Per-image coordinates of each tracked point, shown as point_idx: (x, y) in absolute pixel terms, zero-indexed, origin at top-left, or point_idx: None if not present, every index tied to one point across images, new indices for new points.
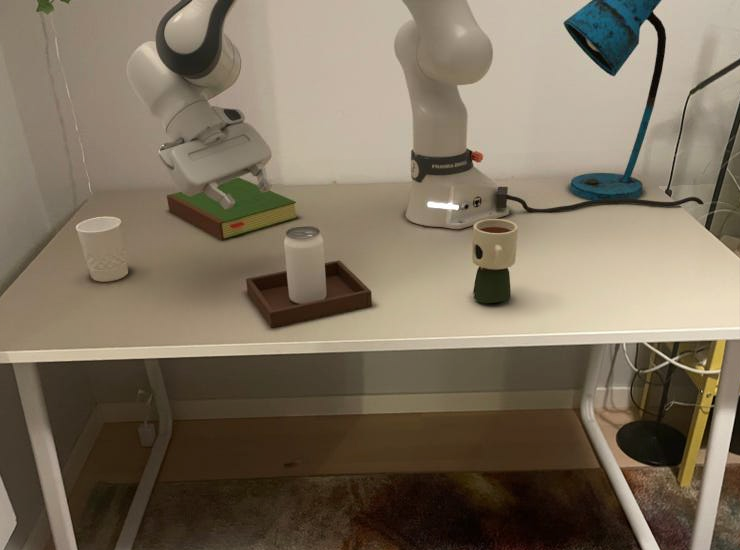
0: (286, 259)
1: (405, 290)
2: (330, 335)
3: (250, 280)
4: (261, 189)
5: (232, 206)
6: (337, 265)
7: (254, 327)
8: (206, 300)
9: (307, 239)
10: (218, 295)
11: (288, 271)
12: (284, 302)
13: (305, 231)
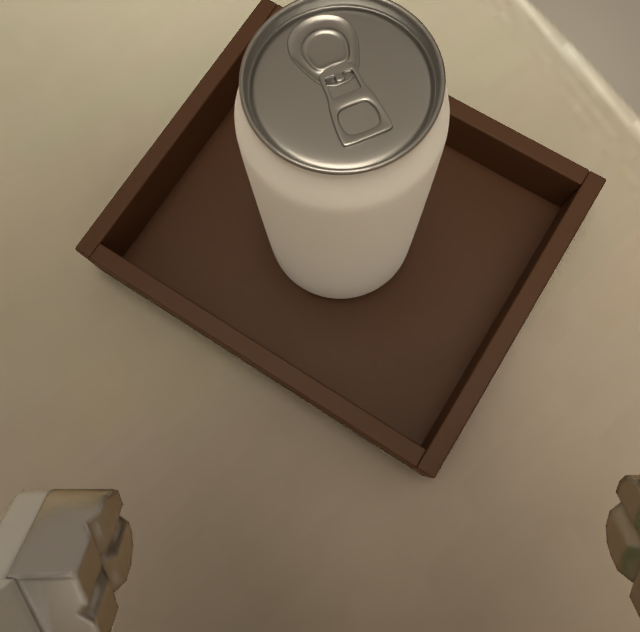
0: (425, 197)
1: (116, 13)
2: (501, 31)
3: (437, 444)
4: (118, 566)
5: (607, 520)
6: (106, 245)
7: (611, 259)
8: (570, 583)
9: (398, 14)
10: (507, 572)
11: (422, 210)
12: (416, 283)
13: (304, 95)
